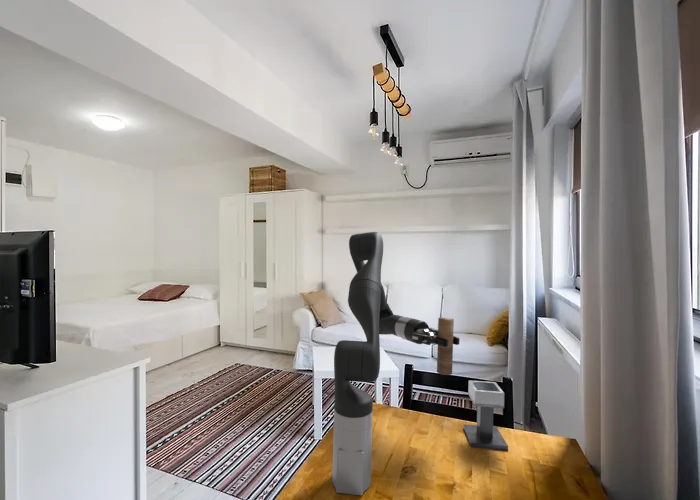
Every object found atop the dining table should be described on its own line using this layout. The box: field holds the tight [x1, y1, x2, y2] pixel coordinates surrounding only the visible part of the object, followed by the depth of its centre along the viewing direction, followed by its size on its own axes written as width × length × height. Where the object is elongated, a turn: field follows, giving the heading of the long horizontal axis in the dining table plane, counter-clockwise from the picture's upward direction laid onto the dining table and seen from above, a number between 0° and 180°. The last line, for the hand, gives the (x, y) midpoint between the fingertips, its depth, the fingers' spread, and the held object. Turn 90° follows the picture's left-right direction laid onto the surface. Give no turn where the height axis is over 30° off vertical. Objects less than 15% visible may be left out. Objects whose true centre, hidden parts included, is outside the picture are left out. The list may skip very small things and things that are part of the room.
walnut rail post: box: [436, 316, 455, 376], centre depth 98 cm, size 4×4×16 cm
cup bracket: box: [462, 380, 509, 451], centre depth 98 cm, size 10×10×16 cm
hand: (452, 342), depth 96 cm, fingers closed on walnut rail post, 4 cm apart
